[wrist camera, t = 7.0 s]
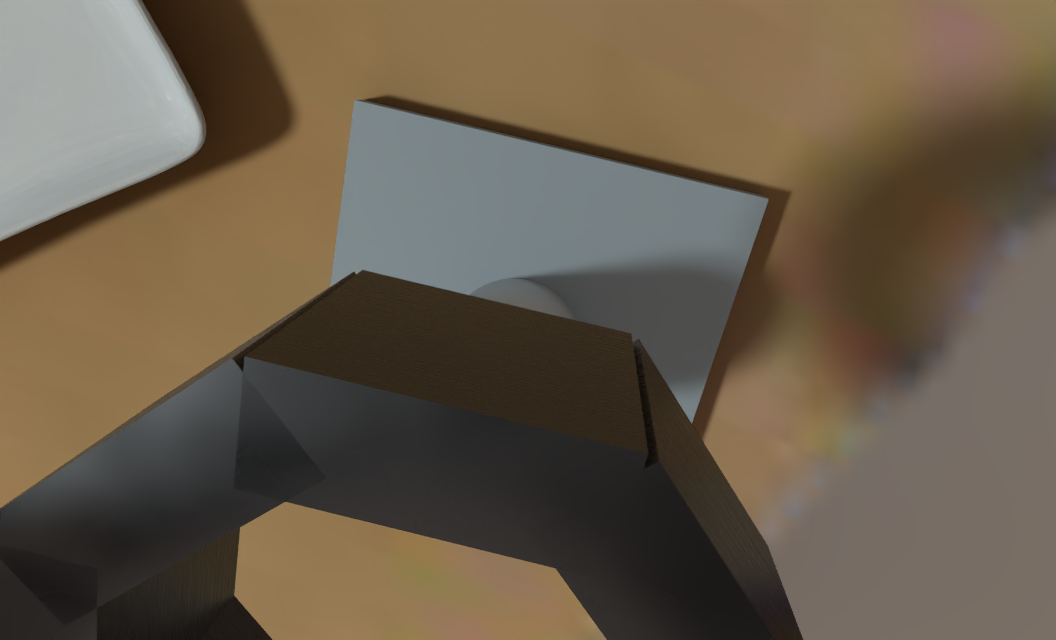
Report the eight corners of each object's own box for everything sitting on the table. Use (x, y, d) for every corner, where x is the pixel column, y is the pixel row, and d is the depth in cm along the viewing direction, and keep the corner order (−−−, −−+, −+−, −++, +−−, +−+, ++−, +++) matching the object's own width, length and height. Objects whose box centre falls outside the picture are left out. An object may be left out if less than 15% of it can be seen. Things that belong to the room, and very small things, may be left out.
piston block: (363, 99, 27) (262, 103, 18) (762, 195, 26) (836, 240, 18) (316, 449, 32) (222, 569, 24) (648, 531, 32) (666, 681, 24)
